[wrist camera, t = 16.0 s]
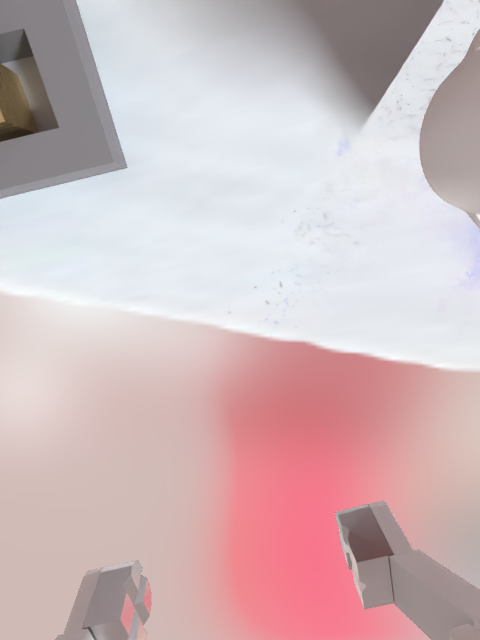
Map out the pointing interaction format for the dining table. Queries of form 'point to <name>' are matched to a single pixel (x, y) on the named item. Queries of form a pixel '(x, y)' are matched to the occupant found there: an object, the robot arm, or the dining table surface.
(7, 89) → the tan block
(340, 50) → the dining table surface
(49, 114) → the well
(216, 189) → the dining table surface
